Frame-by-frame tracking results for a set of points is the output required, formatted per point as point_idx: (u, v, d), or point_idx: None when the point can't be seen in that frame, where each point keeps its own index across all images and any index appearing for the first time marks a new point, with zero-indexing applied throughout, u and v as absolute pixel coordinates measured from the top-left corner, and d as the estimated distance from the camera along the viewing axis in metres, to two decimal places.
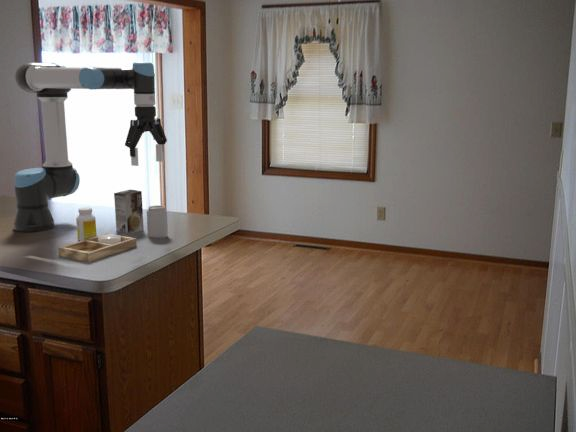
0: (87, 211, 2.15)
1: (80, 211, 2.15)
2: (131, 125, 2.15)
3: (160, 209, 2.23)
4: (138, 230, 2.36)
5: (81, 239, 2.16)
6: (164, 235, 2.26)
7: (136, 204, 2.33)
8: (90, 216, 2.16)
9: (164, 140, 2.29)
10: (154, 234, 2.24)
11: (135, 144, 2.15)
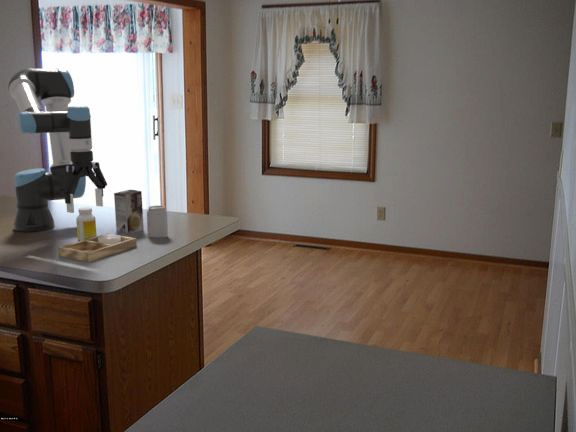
0: (87, 211, 2.15)
1: (80, 211, 2.15)
2: (66, 171, 2.08)
3: (160, 209, 2.23)
4: (138, 230, 2.36)
5: (81, 239, 2.16)
6: (164, 235, 2.26)
7: (136, 204, 2.33)
8: (90, 216, 2.16)
9: (104, 184, 2.22)
10: (154, 234, 2.24)
11: (70, 191, 2.08)
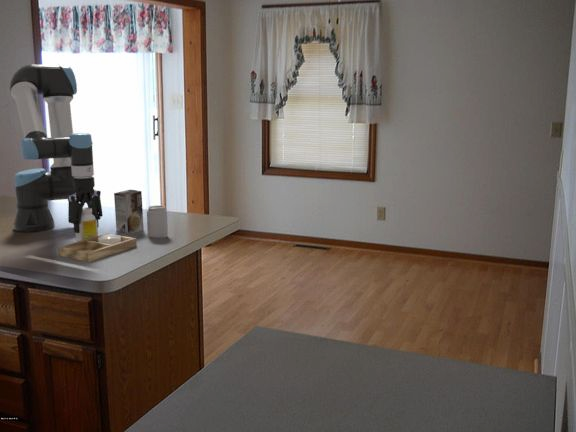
0: (87, 211, 2.15)
1: None
2: (69, 201, 2.11)
3: (160, 209, 2.23)
4: (138, 230, 2.36)
5: None
6: (164, 235, 2.26)
7: (135, 204, 2.33)
8: (90, 216, 2.16)
9: (99, 214, 2.22)
10: (154, 234, 2.24)
11: (78, 220, 2.13)
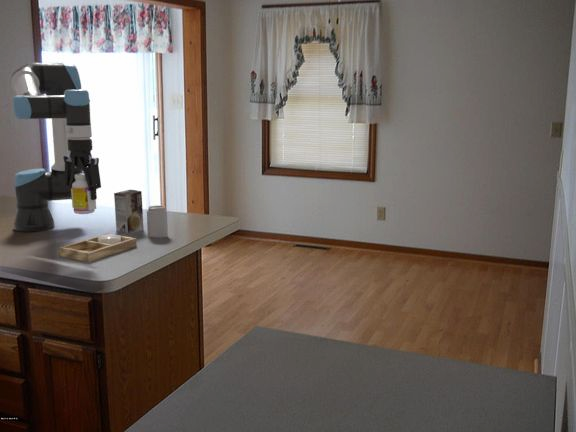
0: (75, 176, 1.95)
1: None
2: None
3: (160, 209, 2.23)
4: (138, 230, 2.36)
5: None
6: (164, 235, 2.26)
7: (136, 204, 2.33)
8: (76, 183, 1.94)
9: (93, 185, 1.93)
10: (154, 234, 2.24)
11: (70, 184, 1.98)
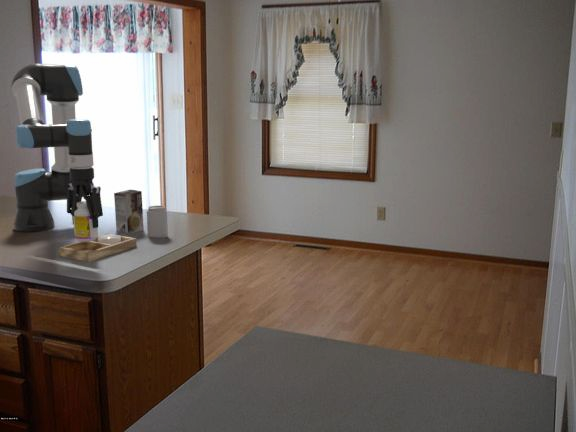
0: (77, 205, 1.96)
1: None
2: None
3: (160, 209, 2.23)
4: (138, 230, 2.36)
5: None
6: (164, 235, 2.26)
7: (136, 204, 2.33)
8: (78, 211, 1.96)
9: (94, 214, 1.95)
10: (154, 234, 2.24)
11: (72, 212, 1.99)
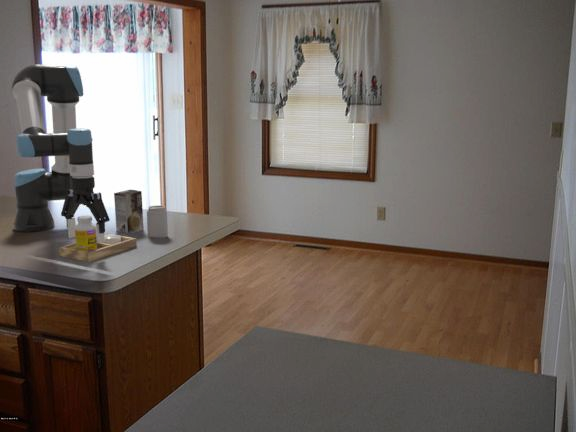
0: (77, 219, 1.98)
1: None
2: None
3: (160, 209, 2.23)
4: (138, 230, 2.36)
5: None
6: (164, 235, 2.26)
7: (136, 204, 2.33)
8: (78, 226, 1.97)
9: (101, 220, 1.94)
10: (154, 234, 2.24)
11: (66, 215, 2.01)
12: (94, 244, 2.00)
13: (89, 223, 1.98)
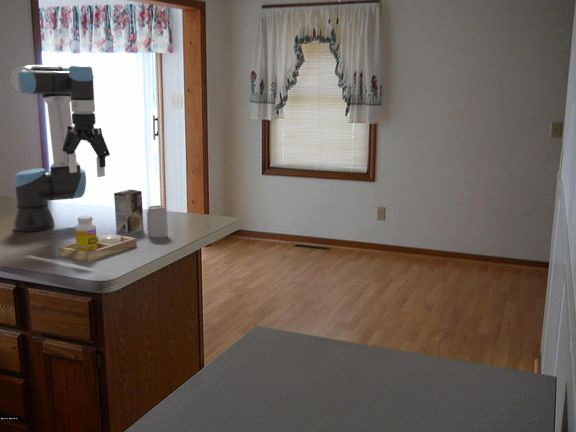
0: (78, 219, 1.98)
1: None
2: None
3: (160, 209, 2.23)
4: (138, 230, 2.36)
5: None
6: (164, 235, 2.26)
7: (136, 204, 2.33)
8: (78, 226, 1.97)
9: (102, 154, 2.01)
10: (154, 234, 2.24)
11: (68, 150, 2.09)
12: (94, 244, 2.00)
13: (89, 223, 1.98)
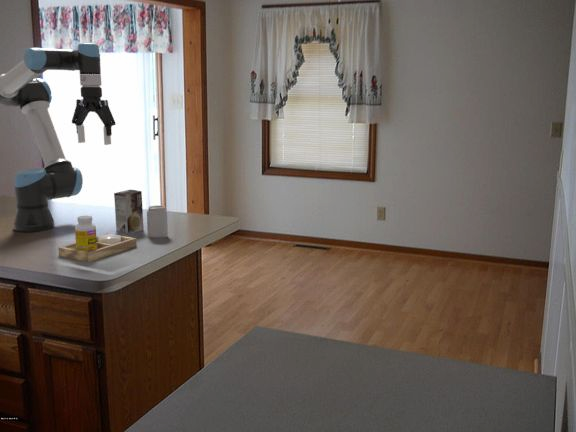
0: (77, 219, 1.98)
1: None
2: None
3: (160, 209, 2.23)
4: (138, 230, 2.36)
5: None
6: (164, 235, 2.26)
7: (136, 204, 2.33)
8: (78, 226, 1.97)
9: (108, 123, 2.21)
10: (154, 234, 2.24)
11: (76, 122, 2.28)
12: (94, 244, 2.00)
13: (89, 223, 1.98)
